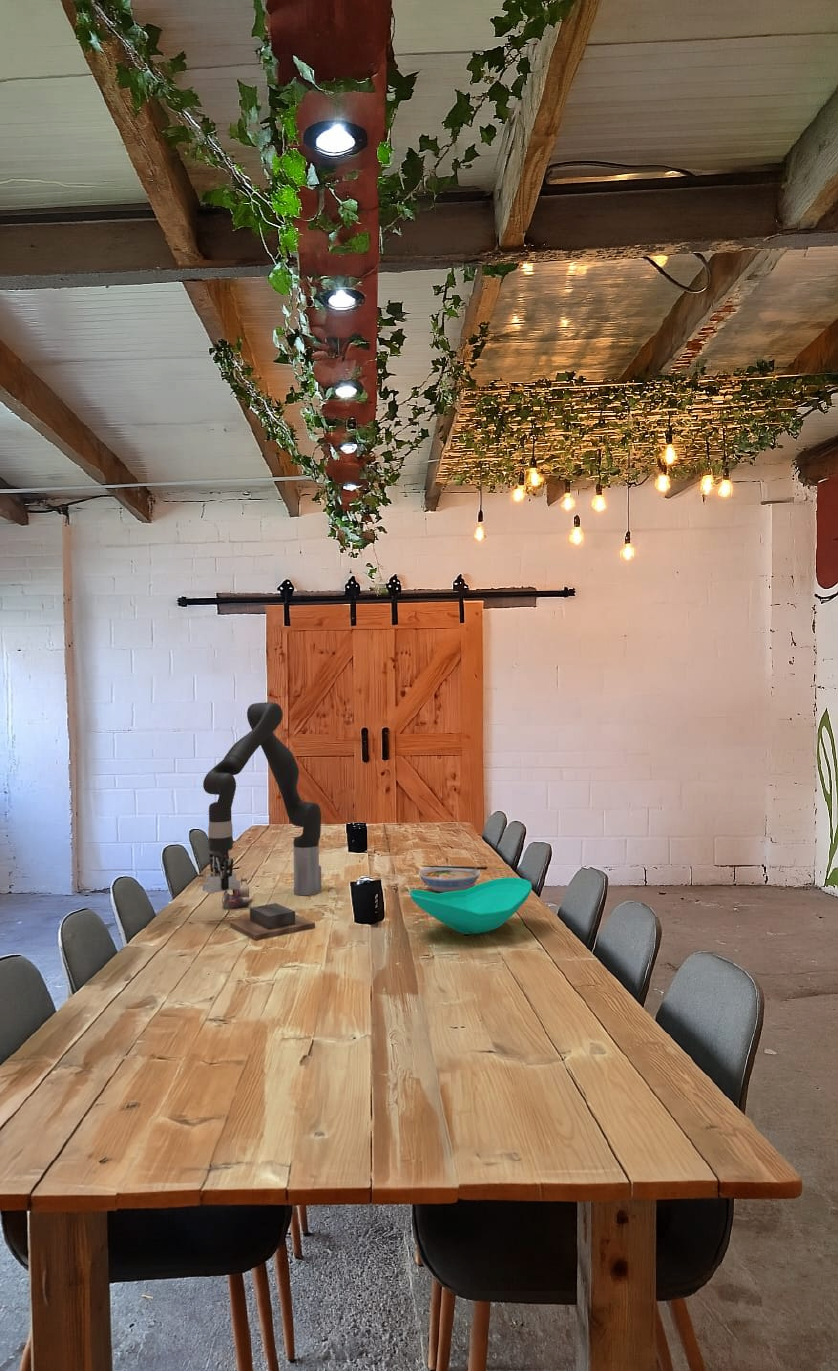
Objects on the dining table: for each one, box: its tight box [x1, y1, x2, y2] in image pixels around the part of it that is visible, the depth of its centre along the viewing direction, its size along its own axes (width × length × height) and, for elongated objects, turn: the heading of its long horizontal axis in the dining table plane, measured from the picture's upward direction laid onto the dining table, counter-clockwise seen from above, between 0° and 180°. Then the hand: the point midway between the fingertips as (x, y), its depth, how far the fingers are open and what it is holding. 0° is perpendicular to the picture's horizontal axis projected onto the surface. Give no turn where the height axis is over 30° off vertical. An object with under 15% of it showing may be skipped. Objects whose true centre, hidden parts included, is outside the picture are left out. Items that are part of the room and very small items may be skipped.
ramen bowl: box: [418, 865, 488, 893], centre depth 284 cm, size 25×23×8 cm
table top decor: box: [409, 876, 533, 935], centre depth 235 cm, size 40×28×13 cm
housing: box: [202, 871, 241, 895], centre depth 249 cm, size 10×6×5 cm, turn 128°
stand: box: [229, 902, 316, 941], centre depth 242 cm, size 20×18×6 cm
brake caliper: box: [221, 876, 254, 912], centre depth 268 cm, size 11×11×12 cm
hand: (221, 887), depth 249 cm, fingers closed on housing, 5 cm apart
